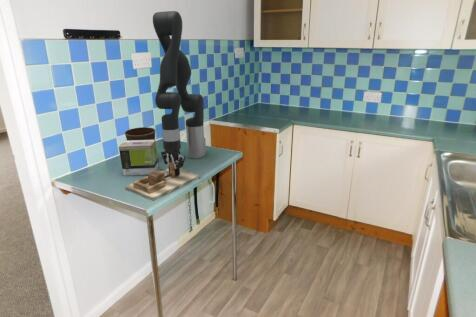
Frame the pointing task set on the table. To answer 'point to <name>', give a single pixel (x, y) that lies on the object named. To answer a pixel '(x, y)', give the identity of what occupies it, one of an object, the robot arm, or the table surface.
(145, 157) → the tea box
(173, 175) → the walnut block
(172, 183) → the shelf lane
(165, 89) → the robot arm
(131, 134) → the plant pot
